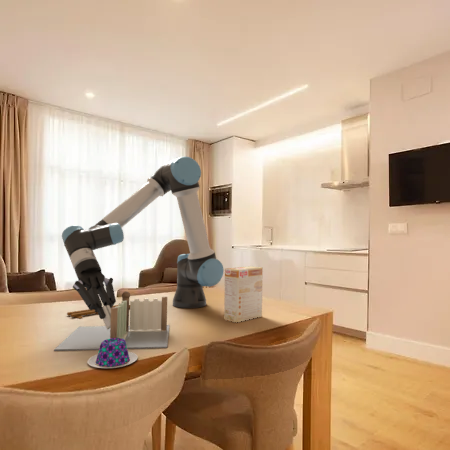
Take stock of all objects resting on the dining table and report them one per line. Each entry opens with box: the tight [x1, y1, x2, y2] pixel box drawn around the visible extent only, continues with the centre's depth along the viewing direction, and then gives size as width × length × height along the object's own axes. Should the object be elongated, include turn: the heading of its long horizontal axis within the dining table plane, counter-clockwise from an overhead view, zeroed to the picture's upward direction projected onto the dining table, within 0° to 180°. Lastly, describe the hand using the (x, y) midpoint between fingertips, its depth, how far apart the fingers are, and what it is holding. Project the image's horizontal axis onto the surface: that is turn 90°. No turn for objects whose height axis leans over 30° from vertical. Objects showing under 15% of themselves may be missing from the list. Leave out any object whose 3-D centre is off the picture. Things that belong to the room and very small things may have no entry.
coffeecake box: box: [223, 265, 263, 324], centre depth 132 cm, size 15×7×20 cm, turn 135°
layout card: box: [53, 324, 170, 352], centre depth 105 cm, size 30×23×1 cm
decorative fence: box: [66, 304, 130, 319], centre depth 138 cm, size 25×2×10 cm
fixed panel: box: [129, 296, 168, 331], centre depth 111 cm, size 12×2×11 cm, turn 98°
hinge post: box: [121, 291, 131, 331], centre depth 110 cm, size 3×3×13 cm
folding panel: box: [110, 300, 127, 338], centre depth 101 cm, size 15×2×10 cm, turn 5°
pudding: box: [87, 338, 139, 369], centre depth 86 cm, size 12×12×5 cm
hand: (111, 326), depth 101 cm, fingers closed
